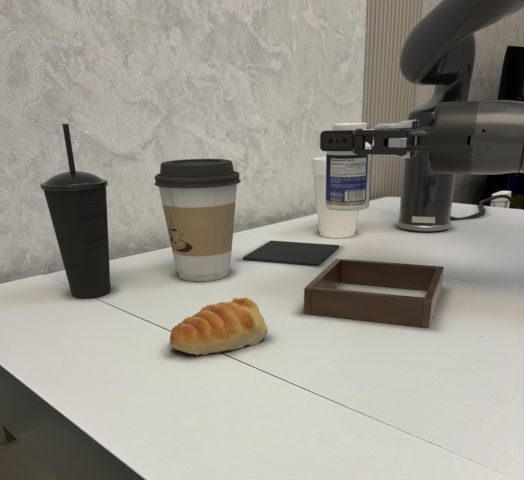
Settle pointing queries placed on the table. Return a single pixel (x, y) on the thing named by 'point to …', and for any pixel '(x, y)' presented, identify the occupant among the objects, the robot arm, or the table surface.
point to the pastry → (220, 328)
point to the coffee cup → (199, 215)
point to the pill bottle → (348, 176)
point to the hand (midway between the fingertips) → (328, 139)
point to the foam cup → (329, 220)
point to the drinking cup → (80, 226)
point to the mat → (292, 253)
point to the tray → (375, 304)
